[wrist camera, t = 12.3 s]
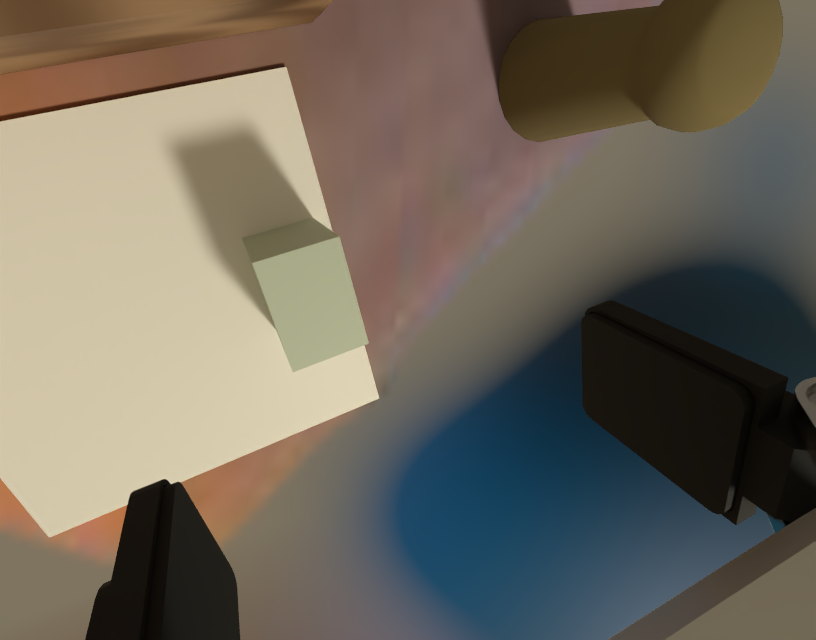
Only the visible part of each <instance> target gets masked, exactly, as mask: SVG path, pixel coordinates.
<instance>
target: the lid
mask: <svg viewBox="0 0 816 640" xmlns="http://www.w3.org/2000/svg"><path fill="white" fill-rule="evenodd" d="M366 344H369V342H368V339H367V335H366V332H365V328H364V324H363V321H362V317H361V313H360V310H359V306H358V302H357V299H356V295H355V292H354V288H353V284H352V281H351V277H350V273H349V270H348V266H347V262H346V259H345V255H344V251H343V248H342V244H341V241H340V237H339V236H338V235H337V234H335V233H334V232H332V228H331V225H330V221H329V217H328V214H327V210H326V207H325V203H324V200H323V196H322V193H321V189H320V185H319V182H318V178H317V175H316V171H315V168H314V164H313V160H312V157H311V153H310V150H309V146H308V143H307V139H306V135H305V132H304V128H303V125H302V121H301V118H300V114H299V111H298V107H297V103H296V100H295V96H294V93H293V89H292V86H291V82H290V78H289V75H288V71H287V68H286V67H282V68H277V69H272V70H267V71H261V72H256V73H251V74H246V75H241V76H235V77H230V78H225V79H220V80H214V81H209V82H204V83H199V84H194V85H188V86H183V87H178V88H173V89H167V90H162V91H157V92H152V93H147V94H141V95H136V96H131V97H126V98H120V99H115V100H110V101H105V102H100V103H94V104H89V105H84V106H79V107H73V108H68V109H63V110H58V111H53V112H47V113H42V114H37V115H32V116H26V117H21V118H16V119H11V120H6V121H0V478H1V480H2V481H3V482H4V483H5V484H6V486H7V487H8V488H9V489H10V490H11V492H12V493H13V494H14V495H15V497H16V498H17V499H18V500H19V501H20V503H21V504H22V505H23V506H24V508H25V509H26V510H27V511H28V512H29V514H30V515H31V516H32V517H33V519H34V520H35V521H36V522H37V523H38V525H39V526H40V527H41V528H42V529H43V531H44V532H45V533H46V534H47V536H48V537H52V536H54V535H57V534H59V533H61V532H64V531H66V530H68V529H71V528H73V527H76V526H78V525H80V524H83V523H85V522H87V521H90V520H92V519H95V518H97V517H99V516H102V515H104V514H106V513H109V512H111V511H113V510H116V509H118V508H121V507H123V506H125V505H128V500H129V497H130V494H131V493H132V492H133V491H135V490H137V489H140V488H142V487H145V486H147V485H150V484H152V483H155V482H157V481H160V480H162V479H166V480H168V481H169V482H170V484H173V483H176V482H182V481H185V480H187V479H189V478H192V477H194V476H196V475H199V474H201V473H204V472H206V471H208V470H211V469H213V468H215V467H218V466H220V465H222V464H225V463H227V462H230V461H232V460H234V459H237V458H239V457H241V456H244V455H246V454H249V453H251V452H253V451H256V450H258V449H260V448H263V447H265V446H268V445H270V444H272V443H275V442H277V441H279V440H282V439H284V438H286V437H289V436H291V435H294V434H296V433H298V432H301V431H303V430H305V429H308V428H310V427H313V426H315V425H317V424H320V423H322V422H324V421H327V420H329V419H332V418H334V417H336V416H339V415H341V414H343V413H346V412H348V411H350V410H353V409H355V408H358V407H360V406H362V405H365V404H367V403H369V402H372V401H374V400H377V399H379V396H378V392H377V389H376V385H375V382H374V378H373V374H372V371H371V367H370V364H369V360H368V357H367V353H366V349H365V346H364V345H366Z"/></svg>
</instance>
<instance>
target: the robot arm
mask: <svg viewBox="0 0 816 640" xmlns="http://www.w3.org/2000/svg"><path fill="white" fill-rule="evenodd" d="M581 325H582V389H583V390H582V391H583V392H582V395H583V408H584V410H585V412H586V414H587V415H588V416H589V417H590V418H591V419H592V420H594V421H595V422H596V423H597V424H599V425H600V426H601V427H602V428H604V429H605V430H606V431H608V432H609V433H610V434H612V435H613V436H614V437H616V438H617V439H618V440H619V441H621V442H622V443H623V444H624V445H626V446H627V447H628V448H630V449H631V450H632V451H633V452H635V453H636V454H637V455H639V456H640V457H641V458H642V459H644V460H645V461H646V462H648V463H649V464H650V465H652V466H653V467H654V468H655V469H657V470H658V471H659V472H661V473H662V474H663V475H664V476H666V477H667V478H668V479H670V480H671V481H672V482H673V483H675V484H676V485H678V486H679V487H680V488H681V489H682V490H684V491H685V492H686V493H688V494H689V495H690V496H691V497H693V498H694V499H695V500H697V501H698V502H699V503H701V504H702V505H703V506H704V507H706V508H707V509H708V510H710V511H711V512H713V513H716V514H722V515H723V516H724V517H726V518H727V519H729V520H730V521H731V522H732V523H734V524H735V525H737V524H739V523H741V522H742V521H744V520H746V519H747V518H749V517H750V516H752V515H754V514H755V512H756V508H757V506H758V507H759V508H760V509H762V510H763V511H765V512H766V513H767V515H768V518H769V521H770V523H771V526H772V528H773V530H774V533H775V534H773V535H771V536H770V537H768V538H767V539H765V540H764V541H762V542H760V543H759V544H757V545H756V546H754V547H752V548H751V549H749V550H748V551H746V552H745V553H743V554H741V555H740V556H738V557H737V558H735V559H734V560H732V561H730V562H729V563H727V564H726V565H724V566H722V567H721V568H719V569H718V570H716V571H715V572H713V573H711V574H710V575H708V576H706V577H705V578H703V579H702V580H700V581H699V582H697V583H695V584H694V585H692V586H691V587H689V588H688V589H686V590H684V591H683V592H681V593H680V594H678V595H677V596H675V597H674V598H672V599H671V600H669V601H667V602H666V603H664V604H663V605H661V606H659V607H658V608H656V609H655V610H653V611H652V612H650V613H648V614H647V615H645V616H644V617H642V618H641V619H639V620H637V621H636V622H634V623H633V624H631V625H630V626H628V627H627V628H625V629H623V630H622V631H620V632H619V633H617V634H616V635H614V636H612V637H611V638H609V639H608V640H816V377H815V378H811V379H807V380H804V381H803V382H801V383H800V384H798V385H797V387H796V390H795V394H792V393H790V392H788V391H785V389H786V385H787V381H788V377H786V376H783V375H781V374H779V373H777V372H774V371H772V370H770V369H767V368H765V367H763V366H761V365H758V364H756V363H754V362H752V361H749V360H747V359H745V358H742V357H740V356H738V355H736V354H733V353H731V352H729V351H727V350H724V349H722V348H720V347H717V346H715V345H713V344H711V343H708V342H706V341H704V340H702V339H699V338H697V337H695V336H693V335H690V334H688V333H686V332H683V331H681V330H679V329H677V328H674V327H672V326H670V325H668V324H665V323H663V322H661V321H659V320H656V319H654V318H652V317H649V316H647V315H645V314H643V313H640V312H638V311H636V310H634V309H631V308H629V307H627V306H624V305H622V304H620V303H618V302H615V301H612V300H610V301H606V302H603V303H601V304H598V305H596V306H593V307H591V308H589V309H587V311H586V313H585V317H583V319H582V324H581ZM85 640H240V629H239V612H238V595H237V584H236V579H235V575H234V572H233V570H232V568H231V566H230V564H229V562H228V561H227V559H226V557H225V556H224V554H223V552H222V551H221V549H220V547H219V546H218V544H217V542H216V540H215V539H214V537H213V535H212V534H211V532H210V530H209V529H208V527H207V525H206V524H205V522H204V520H203V519H202V517H201V515H200V514H199V512H198V510H197V509H196V507H195V505H194V503H193V502H192V500H191V498H190V497H189V495H188V493H187V492H186V490H185V488H184V487H183V485H182V484H181V483H180V482H176V483H173V484H170V482H169V481H168V480H166V479H162V480H160V481H157V482H155V483H152V484H150V485H147V486H145V487H142V488H140V489H137V490H135V491H133V492H132V493H131V494H130V497H129V500H128V505H127V510H126V514H125V519H124V524H123V528H122V533H121V537H120V542H119V547H118V551H117V556H116V561H115V565H114V570H113V575H112V580H111V581H108V582H106V583H104V584H103V585H102V586H101V587H100V589H99V590H98V593H97V595H96V598H95V602H94V606H93V610H92V614H91V619H90V622H89V627H88V631H87V635H86V639H85Z"/></svg>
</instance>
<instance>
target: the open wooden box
mask: <svg viewBox="0 0 816 640" xmlns="http://www.w3.org/2000/svg"><path fill="white" fill-rule="evenodd" d="M332 1H333V0H0V74H5V73H11V72H17V71H23V70H29V69H35V68H41V67H47V66H53V65H59V64H65V63H71V62H77V61H83V60H89V59H95V58H101V57H107V56H113V55H119V54H125V53H131V52H137V51H143V50H149V49H155V48H161V47H167V46H173V45H179V44H185V43H191V42H197V41H203V40H209V39H215V38H221V37H227V36H233V35H239V34H245V33H251V32H257V31H263V30H269V29H275V28H281V27H287V26H293V25H299V24H305V23H311V22H313V21H314V20H315V19H316V18H317V17H318V16H319V15H320V14H321V13H322V12H323V11H324V10H325V9H326V8H327V7H328V6H329V4H330V3H331V2H332Z"/></svg>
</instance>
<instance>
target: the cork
mask: <svg viewBox="0 0 816 640" xmlns="http://www.w3.org/2000/svg"><path fill="white" fill-rule="evenodd" d="M782 37H783V16H782V11H781V7H780V2H779V0H664V1H663V2H662V3H661V4H660V5H659V6H653V7H644V8H636V9H627V10H618V11H609V12H601V13H592V14H583V15H575V16H566V17H557V18H548V19H540V20H536V21H534V22H532V23H530V24H529V25H527V26H525V27H524V28H522V29H521V30H520V32H519V33H518V34H517V35H516V36H515V37H514V39H513V40H512V41H511V42H510V44H509V47H508V49H507V51H506V53H505V55H504V57H503V60H502V64H501V69H500V75H499V80H498V81H499V100H500V103H501V107H502V110H503V113H504V116H505V118H506V120H507V121H508V123H509V124H510V126H511V127H512V128H513V130H514V131H515V132H516V133H518V134H519V135H521V136H522V137H524V138H525V139H527V140H532V141H537V142H542V141H547V140H552V139H557V138H562V137H566V136H571V135H576V134H581V133H586V132H591V131H596V130H601V129H606V128H611V127H616V126H621V125H626V124H631V123H635V122H641V121H646V120H652V122H654V123H655V124H656V125H658V126H661V127H664V128H667V129H671V130H675V131H679V132H699V131H703V130H707V129H711V128H715V127H719V126H722V125H724V124H726V123H728V122H729V121H731V120H732V119H734V118H736V117H737V116H738V115H740V114H742V113H743V112H744V111H746V110H747V109H749V108H750V107H751V106H752V104H753V103H754V102H755V101H756V100H757V99H758V97H759V96H760V95H761V94H762V92H763V90H764V88H765V86H766V85H767V83H768V81H769V80H770V78H771V76H772V73H773V71H774V68H775V65H776V63H777V60H778V57H779V54H780V47H781V43H782Z"/></svg>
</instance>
